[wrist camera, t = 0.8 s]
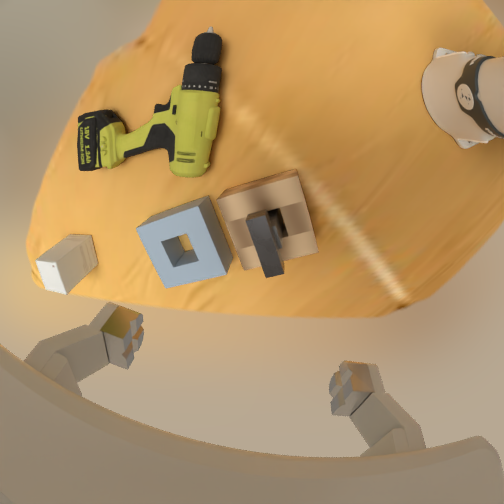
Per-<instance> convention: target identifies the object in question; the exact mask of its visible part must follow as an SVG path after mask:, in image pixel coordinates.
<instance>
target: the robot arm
mask: <svg viewBox="0 0 504 504" xmlns="http://www.w3.org/2000/svg"><path fill="white" fill-rule="evenodd" d="M422 94H423V99H424V102H425V105H426V108H427V110H428V112H429V114H430V115H431V117H432V119H433V120H434V121H435V123H436V124H437V125H438V126H439V127H440V128H441V129H442V130H444V131H445V132H447V133H448V134H450V135H451V136H452V137H453V138H454V139H455V141H456V142H457V144H458V145H459V146H460V147H461V148H463V149H467V148H469V147H472V146H474V145H476V144H478V143H488V141H489V140H492V139H494V138H495V137H498V138H504V56H503V57H498V58H496V57H492V56H485V55H481V54H477V55H476V57H475V54H474V53H473V52H467V53H466V52H464V51H462V52H455V51H451V50H448V49H444V48H436V49H435V51H434V55H433V60H432V62H431V63H430V64H429V65H428V66H427V68H426V69H425V71H424V74H423V78H422ZM142 322H143V315H142V314H141V313H138V312H135V311H132V310H130V309H127V308H125V307H122V306H119V305H116V304H114V303H111V302H108V303H107V304H106V305H105V306H104V307H103V308H102V309H101V311H100V312H99V313H98V314H97V316H96V317H95V318H94V319H93V321H92V322H91V323H90V324H89V325H83V326H80V327H77V328H75V329H72V330H69V331H67V332H64V333H61V334H58V335H56V336H53V337H50V338H48V339H45V340H42V341H40V342H39V343H38V344H37V345H36V346H35V348H34V349H33V350H32V351H31V352H30V354H29V355H28V356H27V357H26V359H25V360H24V361H22V360H21V359H19V358H18V357H17V356H15V355H14V354H13V353H11V352H10V351H9V350H7V349H6V348H5V347H3V346H2V345H1V344H0V504H504V473H503V469H502V464H501V460H500V457H499V454H498V452H497V451H496V449H495V448H494V447H493V446H492V445H491V444H490V443H489V442H488V441H487V440H486V439H485V438H483V437H482V436H474V437H471V438H467V439H464V440H461V441H457V442H453V443H449V444H445V445H441V446H436V447H432V448H427V449H426V446H425V442H424V438H423V435H422V431H421V427H420V425H419V424H418V423H417V422H416V421H415V420H414V419H413V418H412V417H411V416H410V415H409V414H408V413H407V412H406V411H405V410H404V409H403V408H402V407H401V406H400V405H399V404H398V403H397V402H396V401H395V400H394V399H393V398H392V397H391V396H390V395H389V394H388V393H385V390H384V386H383V383H382V379H381V376H380V373H379V369H378V366H377V365H376V364H370V363H360V362H352V361H343V362H342V363H341V364H340V366H339V371H337V372H336V373H334V375H333V376H332V378H331V381H330V384H329V392H330V395H331V396H332V397H333V400H332V401H331V411H332V415H338V416H350V419H351V420H352V422H353V423H354V425H355V426H356V428H357V429H358V431H359V432H360V434H361V435H362V436H363V438H364V440H365V441H366V442H367V444H368V445H369V447H370V448H369V449H368V450H366V451H365V452H364V453H362V454H361V456H360V457H338V458H337V457H336V458H335V457H334V458H333V457H331V458H330V457H301V456H287V455H276V454H268V453H259V452H253V451H247V450H241V449H235V448H229V447H224V446H219V445H215V444H211V443H206V442H202V441H198V440H194V439H190V438H186V437H183V436H180V435H176V434H172V433H170V432H166V431H163V430H160V429H157V428H154V427H151V426H149V425H146V424H143V423H140V422H138V421H135V420H132V419H130V418H127V417H125V416H122V415H120V414H118V413H115V412H113V411H111V410H108V409H106V408H104V407H102V406H100V405H98V404H96V403H93V402H91V401H89V400H87V399H85V398H83V397H82V393H81V391H80V389H79V387H78V385H77V382H79V381H81V380H83V379H84V378H86V377H87V376H89V375H91V374H93V373H95V372H96V371H98V370H100V369H101V368H103V367H105V366H106V365H108V364H109V363H111V364H114V365H117V366H119V367H122V368H125V369H128V368H129V366H130V365H131V363H132V361H133V359H134V352H136V351H138V350H139V348H140V346H141V344H142V341H143V335H144V329H143V328H142V326H141V324H142Z"/></svg>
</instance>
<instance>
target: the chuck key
mask: <svg viewBox="0 0 504 504" xmlns="http://www.w3.org/2000/svg"><path fill="white" fill-rule="evenodd" d="M245 221H246V224H247V227H248V230H249V232H250V235H251V238H252V241H253V244H254V246H255V249H256V252H257V255H258V257H259V260H260V263H261V266H262V268H263V271H264V274H265V277H266V278H268V277H273V276H277V275H281V274H284V262H283V259H282V255H281V252H280V249H281V248H282V244H283V217H282V214H281V211H280V208H276V209H272V210H269V211H267V209H264V210H261V211H257V212H254V213H250V214H248V215H247V218H246V220H245Z"/></svg>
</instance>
